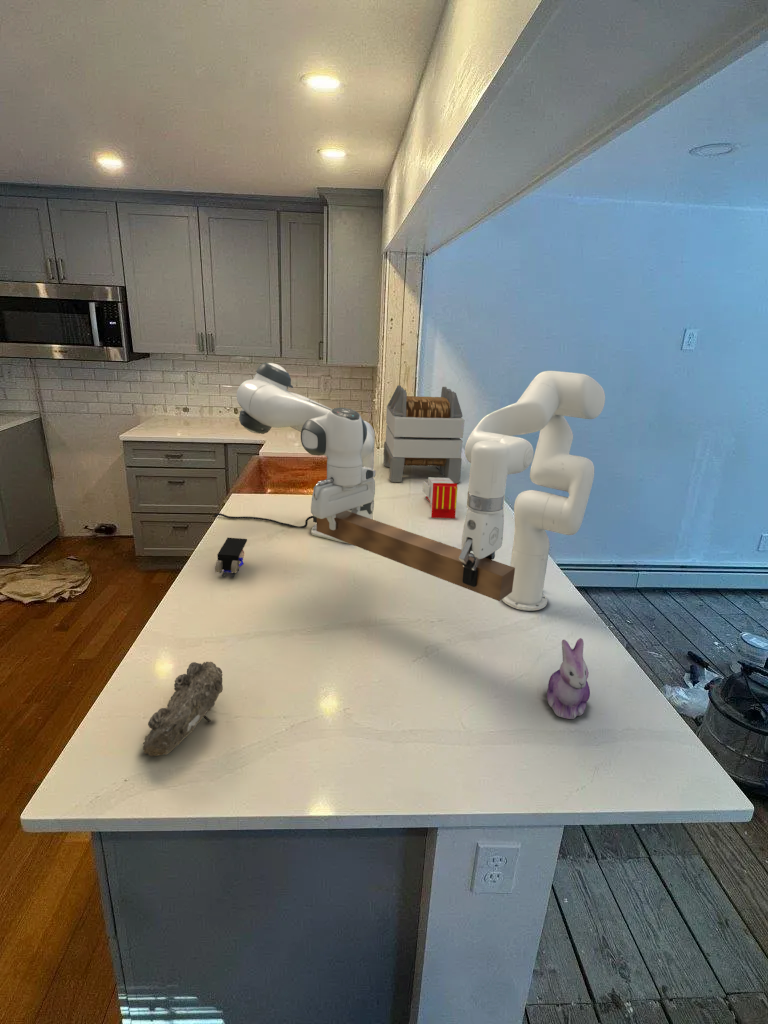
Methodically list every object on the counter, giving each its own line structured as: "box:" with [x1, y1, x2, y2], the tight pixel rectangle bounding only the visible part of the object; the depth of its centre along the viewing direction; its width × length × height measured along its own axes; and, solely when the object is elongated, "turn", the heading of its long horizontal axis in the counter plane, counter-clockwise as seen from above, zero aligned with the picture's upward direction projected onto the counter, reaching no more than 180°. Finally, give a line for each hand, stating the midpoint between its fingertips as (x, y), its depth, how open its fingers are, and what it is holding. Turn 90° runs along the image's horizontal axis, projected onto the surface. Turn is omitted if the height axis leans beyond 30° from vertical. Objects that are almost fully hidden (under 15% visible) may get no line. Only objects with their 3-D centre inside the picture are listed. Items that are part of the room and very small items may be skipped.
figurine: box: [546, 637, 591, 720], centre depth 113 cm, size 9×10×15 cm
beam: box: [316, 511, 515, 602], centre depth 135 cm, size 54×6×6 cm, turn 50°
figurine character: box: [214, 537, 248, 578], centre depth 166 cm, size 7×8×15 cm
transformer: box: [383, 384, 465, 484], centre depth 268 cm, size 34×33×41 cm
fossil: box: [142, 661, 224, 757], centre depth 105 cm, size 22×10×15 cm
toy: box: [422, 476, 458, 519], centre depth 227 cm, size 12×13×30 cm
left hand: (343, 525), depth 147 cm, fingers closed on beam, 5 cm apart
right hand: (477, 578), depth 123 cm, fingers closed on beam, 5 cm apart
